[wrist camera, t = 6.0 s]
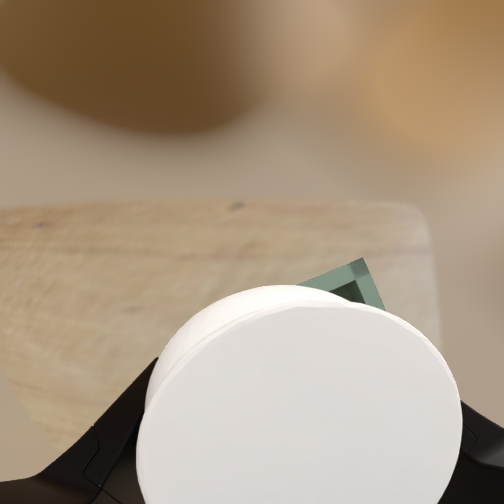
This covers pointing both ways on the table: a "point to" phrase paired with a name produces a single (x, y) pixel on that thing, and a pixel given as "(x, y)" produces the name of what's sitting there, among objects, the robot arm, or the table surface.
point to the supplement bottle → (298, 406)
